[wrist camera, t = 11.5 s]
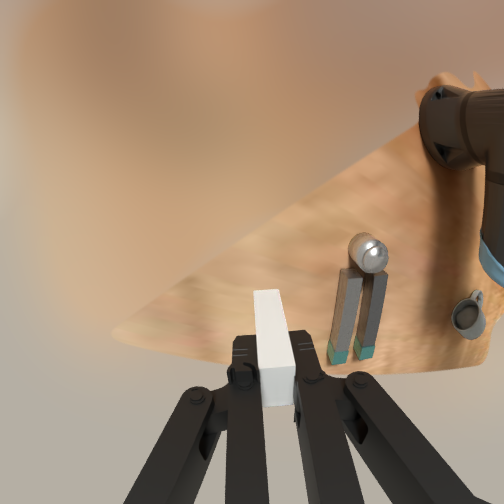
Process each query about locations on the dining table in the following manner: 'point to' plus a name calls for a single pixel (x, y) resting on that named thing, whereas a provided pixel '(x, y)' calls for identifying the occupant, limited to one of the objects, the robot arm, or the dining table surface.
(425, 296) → the dining table surface
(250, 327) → the dining table surface
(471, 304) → the ceramic mug
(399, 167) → the dining table surface
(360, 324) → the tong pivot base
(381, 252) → the tong swing arm
